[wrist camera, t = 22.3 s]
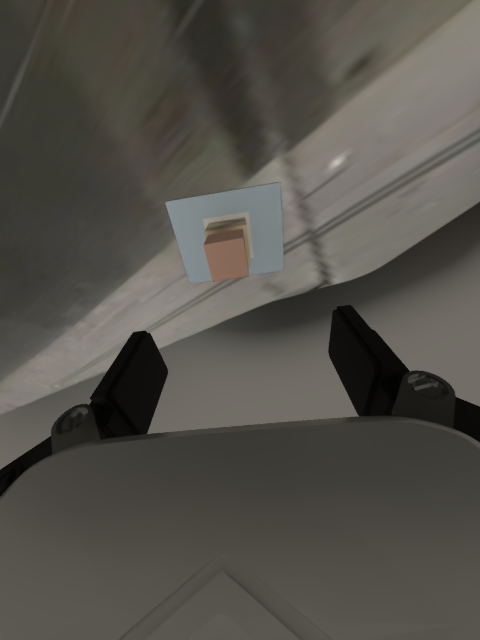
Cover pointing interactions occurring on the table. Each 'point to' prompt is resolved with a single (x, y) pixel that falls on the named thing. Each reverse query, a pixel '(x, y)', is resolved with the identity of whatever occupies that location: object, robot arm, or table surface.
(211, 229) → the base block
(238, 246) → the top block
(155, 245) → the table surface
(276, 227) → the board
